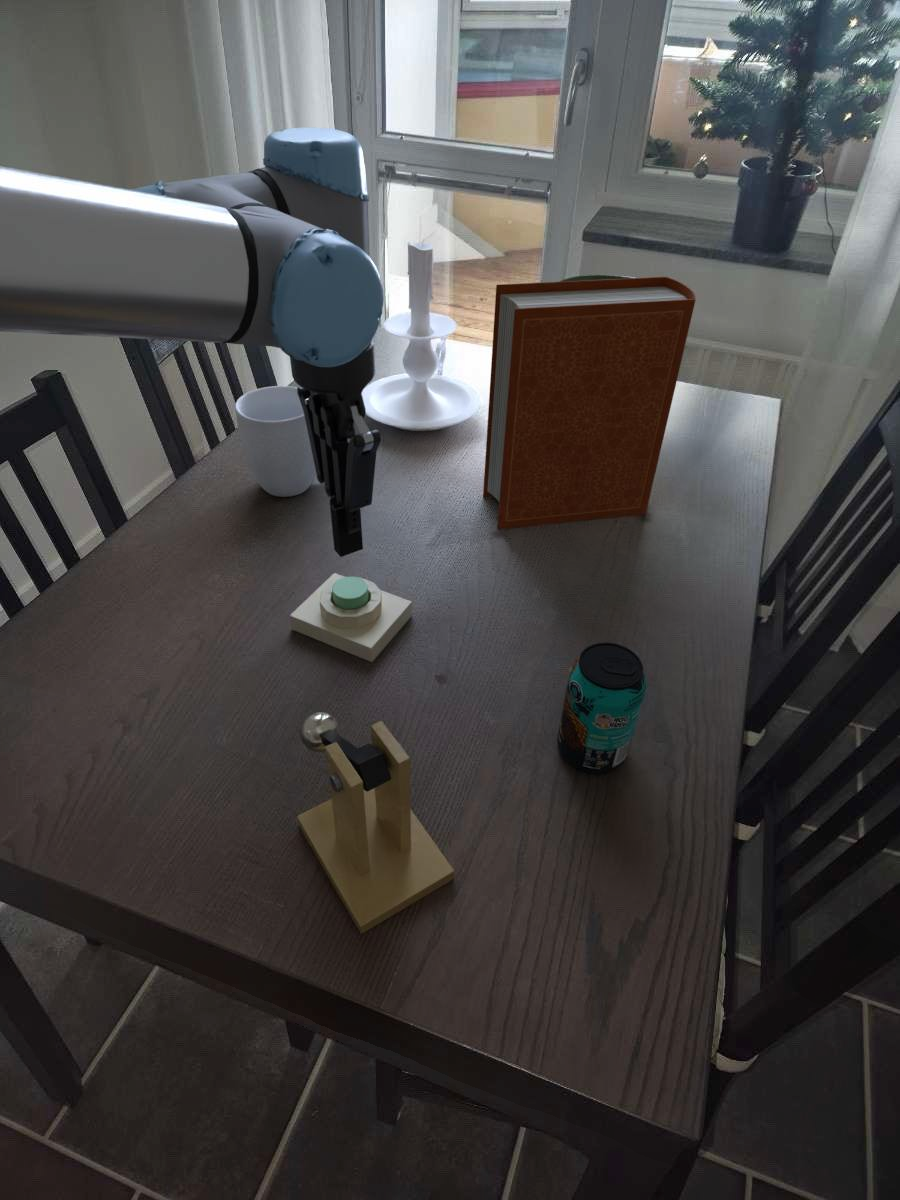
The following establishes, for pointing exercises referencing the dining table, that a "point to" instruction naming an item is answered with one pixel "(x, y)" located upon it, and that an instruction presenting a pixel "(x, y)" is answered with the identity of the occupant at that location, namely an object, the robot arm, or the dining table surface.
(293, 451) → the mug
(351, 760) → the switch lever
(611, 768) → the beverage can
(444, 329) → the candlestick
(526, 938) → the dining table surface
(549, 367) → the book
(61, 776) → the dining table surface
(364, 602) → the light button
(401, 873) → the switch bracket
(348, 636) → the switch box
